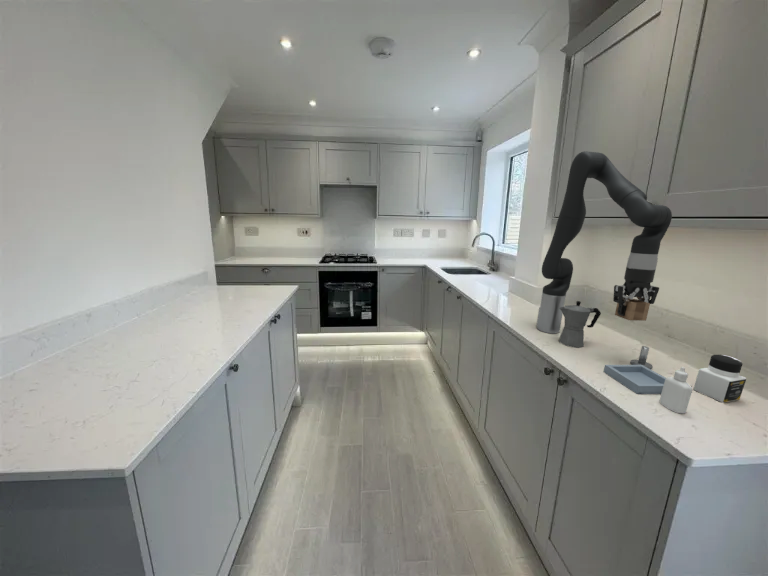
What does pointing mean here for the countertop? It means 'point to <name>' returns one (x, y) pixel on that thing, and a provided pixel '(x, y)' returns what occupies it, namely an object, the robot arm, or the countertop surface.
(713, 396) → the medicine bottle
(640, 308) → the block
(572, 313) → the coffeepot
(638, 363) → the grey metal coffee tamper
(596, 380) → the countertop surface
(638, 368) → the tray
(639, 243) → the robot arm
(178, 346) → the countertop surface
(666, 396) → the eye dropper bottle
